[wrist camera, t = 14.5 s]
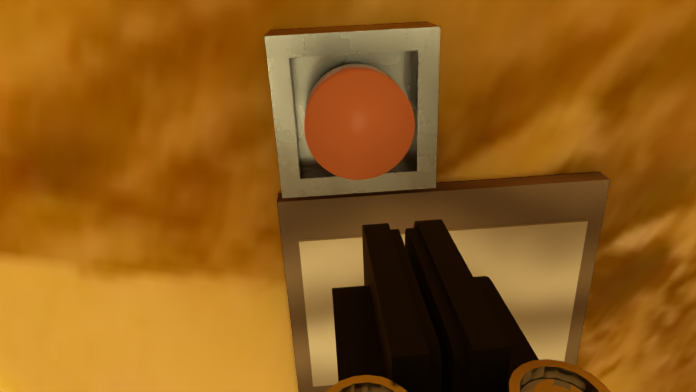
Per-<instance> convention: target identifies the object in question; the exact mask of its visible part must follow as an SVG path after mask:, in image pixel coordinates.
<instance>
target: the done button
mask: <svg viewBox="0 0 696 392" xmlns="http://www.w3.org/2000/svg"><path fill="white" fill-rule="evenodd" d="M414 130H415V119H414V113H413V109H412V106H411V104H410V102H409V100H408V98H407V96H406V95H405V94H404V92H403V91H402V90H401V88H400V87H399V86H398V85H397V83H396V82H395V81H394V80H393V79H392V78H391V77H390V76H389V75H388V74H387V73H385V72H384V71H382V70H380V69H378V68H376V67H374V66H370V65H367V64H346V65H343V66H339V67H337V68H334V69H333V70H331V71H329V72H327V73H326V74H325V75H324V76H322V77H321V78H320V79H319V80H318V81H317V83H316V84H315V85H314V87H313V88H312V90H311V92H310V94H309V96H308V99H307V103H306V109H305V121H304V133H305V139H306V142H307V146H308V148H309V150H310V152H311V154H312V155H313V157H314V158H315V160H316V161H317V162H318V163H319V164H320V165H321V166H322V167H323V168H324V169H326V170H327V171H329V172H330V173H332V174H334V175H336V176H339V177H342V178H346V179H351V180H365V179H371V178H375V177H377V176H380V175H382V174H384V173H386V172H388V171H389V170H391V169H392V168H394V167H395V166H396V165H397V164H398V163H399V162H400V161H401V160H402V159H403V158H404V156H405V155H406V153H407V152H408V150H409V148H410V146H411V143H412V140H413V136H414Z"/></svg>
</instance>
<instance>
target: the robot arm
mask: <svg viewBox="0 0 696 392" xmlns="http://www.w3.org/2000/svg"><path fill="white" fill-rule="evenodd" d="M362 241H363V267H364V286H353V287H340V288H332V297H333V311H334V326H335V340H336V354H337V368H338V383H336V384H335V385H333V386H332V387H330V388H329V389H328V390H327V391H326V392H611V391H610V390H609V389H608V388H607V387H606V386H605V385H604V384H603V383H602V382H601V381H599V380H598V379H597V378H596V377H595V376H593V375H592V374H591V373H589V372H587V371H585V370H583V369H582V368H580V367H578V366H575V365H572V364H569V363H566V362H563V361H557V360H549V359H543V360H539V359H538V357H537V356H536V354H535V352H534V351H533V349H532V347H531V346H530V344H529V342H528V341H527V339H526V337H525V336H524V334H523V332H522V330H521V329H520V327H519V325H518V324H517V322H516V320H515V319H514V317H513V315H512V314H511V312H510V310H509V309H508V307H507V305H506V304H505V302H504V300H503V299H502V297H501V295H500V294H499V292H498V290H497V289H496V287H495V285H494V284H493V282H492V281H491V279H490V278H489V277H487V276H479V277H473V276H472V274H471V272H470V270H469V268H468V266H467V265H466V263H465V261H464V259H463V257H462V255H461V254H460V252H459V250H458V248H457V246H456V244H455V243H454V241H453V239H452V237H451V235H450V233H449V232H448V230H447V228H446V226H445V224H444V222H443V221H442V219H436V220H422V221H415V223H414V228H406V230H405V245H404V242H403V239H402V236H401V234H400V231H399V229H391V230H390V227H389V224H388V223H382V224H368V225H362Z"/></svg>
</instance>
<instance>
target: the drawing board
mask: <svg viewBox="0 0 696 392" xmlns="http://www.w3.org/2000/svg"><path fill="white" fill-rule="evenodd" d="M609 182H610V179H608V178H607V177H605V176H604V175H602V174H601V173H599V172H592V173H577V174H562V175H547V176H533V177H518V178H503V179H488V180H473V181H458V182H443V183H436V188H427V189H412V190H397V191H383V192H368V193H353V194H338V195H324V196H309V197H294V198H282V193H280V194H278V200H277V206H278V215H279V223H280V232H281V241H282V249H283V258H284V267H285V275H286V284H287V293H288V301H289V310H290V319H291V327H292V336H293V345H294V354H295V362H296V371H297V380H298V388H299V392H326V391H327V390H328V389H329V388H330V387H332V386H333V385H335V384H336V383H338V368H337V354H336V340H335V326H334V311H333V297H332V288H340V287H353V286H364V267H363V241H362V225H368V224H382V223H388V224H389V227H390V230H391V229H399V231H400V234H401V236H402V239H403V242H404V245H405V230H406V228H414V223H415V221H422V220H436V219H442V221H443V222H444V224H445V226H446V228H447V230H448V232H449V233H450V235H451V237H452V239H453V241H454V243H455V244H456V246H457V248H458V250H459V252H460V254H461V255H462V257H463V259H464V261H465V263H466V265H467V266H468V268H469V270H470V272H471V274H472V276H473V277H479V276H487V277H489V278H490V279H491V281H492V282H493V284H494V285H495V287H496V289H497V290H498V292H499V294H500V295H501V297H502V299H503V300H504V302H505V304H506V305H507V307H508V309H509V310H510V312H511V314H512V315H513V317H514V319H515V320H516V322H517V324H518V325H519V327H520V329H521V330H522V332H523V334H524V336H525V337H526V339H527V341H528V342H529V344H530V346H531V347H532V349H533V351H534V352H535V354H536V356H537V357H538V359H539V360H543V359H549V360H557V361H563V362H566V363H569V364H572V365H575V366H576V362H577V357H578V351H579V346H580V341H581V335H582V330H583V324H584V319H585V313H586V308H587V302H588V297H589V291H590V286H591V280H592V275H593V269H594V264H595V258H596V253H597V247H598V242H599V237H600V231H601V226H602V220H603V215H604V209H605V204H606V198H607V193H608V187H609Z"/></svg>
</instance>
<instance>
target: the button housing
mask: <svg viewBox="0 0 696 392" xmlns="http://www.w3.org/2000/svg"><path fill="white" fill-rule="evenodd" d="M265 45H266V54H267V63H268V72H269V82H270V91H271V100H272V109H273V118H274V127H275V136H276V145H277V154H278V163H279V172H280V182H281V191H282V198H294V197H309V196H324V195H338V194H353V193H368V192H383V191H397V190H412V189H427V188H436V165H437V130H438V94H439V59H440V26H437V25H435V24H432V23H429V22H409V23H391V24H373V25H354V26H336V27H317V28H299V29H281V30H270V31H269V32H268V33H267V34H266V35H265ZM346 64H367V65H370V66H374V67H376V68H378V69H380V70H382V71H384V72H385V73H387V74H388V75H389V76H390V77H391V78H392V79H393V80H394V81H395V82H396V83H397V85H398V86H399V87H400V88H401V90H402V91H403V92H404V94H405V95H406V96H407V98H408V100H409V102H410V104H411V106H412V109H413V113H414V119H415V130H414V136H413V140H412V143H411V146H410V148H409V150H408V152H407V153H406V155H405V156H404V158H403V159H402V160H401V161H400V162H399V163H398V164H397V165H396V166H395V167H394V168H392V169H391V170H389V171H388V172H386V173H384V174H382V175H380V176H377V177H375V178H371V179H365V180H351V179H346V178H342V177H339V176H336V175H334V174H332V173H330V172H329V171H327V170H326V169H324V168H323V167H322V166H321V165H320V164H319V163H318V162H317V161H316V160H315V158H314V157H313V155H312V154H311V152H310V150H309V148H308V146H307V142H306V139H305V133H304V121H305V109H306V103H307V99H308V96H309V94H310V92H311V90H312V88H313V87H314V85H315V84H316V83H317V81H318V80H319V79H320V78H321V77H322V76H324V75H325V74H326V73H327V72H329V71H331V70H333V69H334V68H337V67H339V66H343V65H346Z"/></svg>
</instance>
